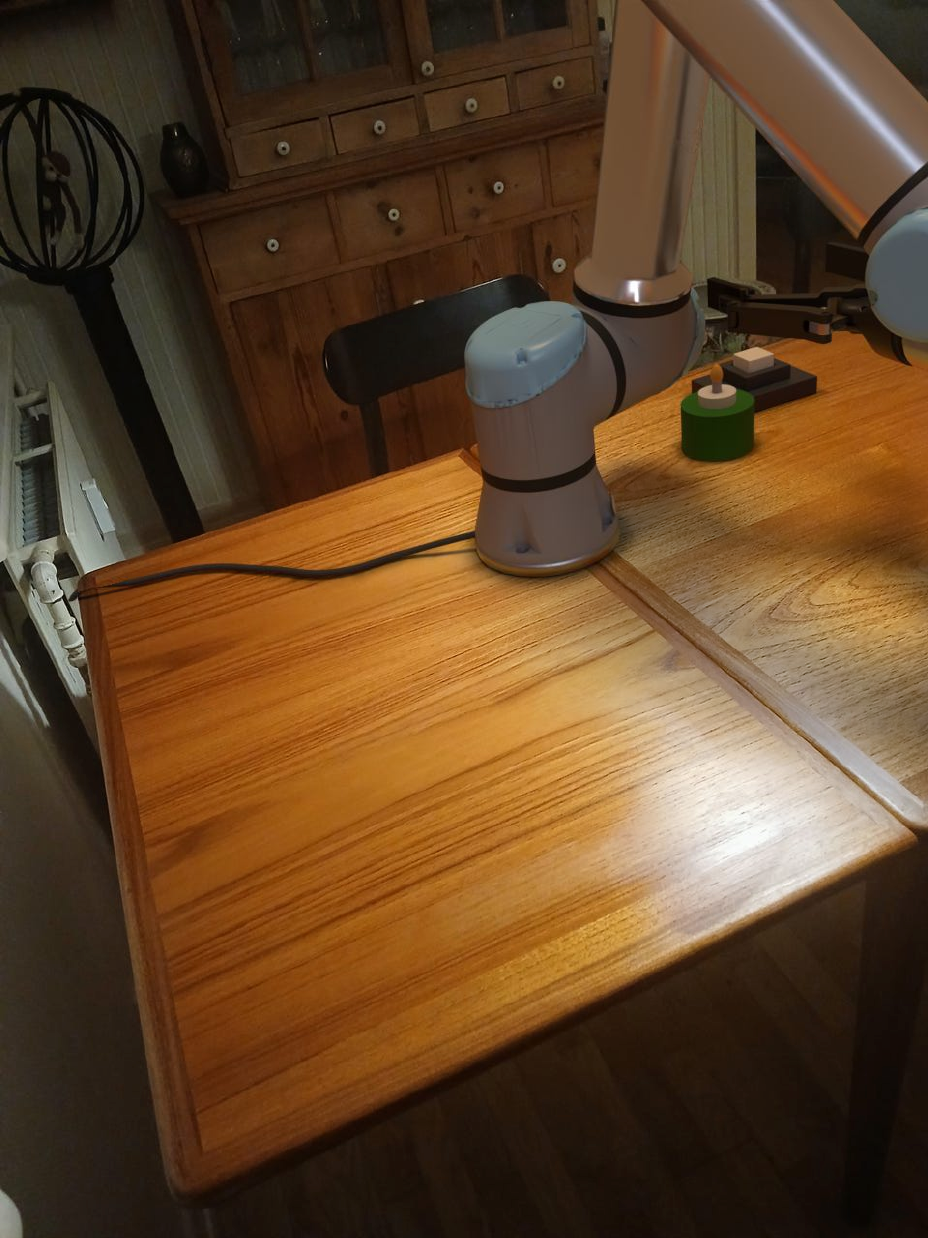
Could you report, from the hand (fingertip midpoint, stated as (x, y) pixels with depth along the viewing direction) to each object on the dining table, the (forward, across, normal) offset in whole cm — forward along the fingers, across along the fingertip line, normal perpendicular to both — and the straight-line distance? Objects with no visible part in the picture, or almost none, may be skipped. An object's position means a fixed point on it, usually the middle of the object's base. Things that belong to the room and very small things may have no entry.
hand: (770, 273), depth 93 cm
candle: (+10, 0, -22) cm, 24 cm away
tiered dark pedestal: (+20, +12, -22) cm, 32 cm away
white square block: (+20, +12, -18) cm, 29 cm away
